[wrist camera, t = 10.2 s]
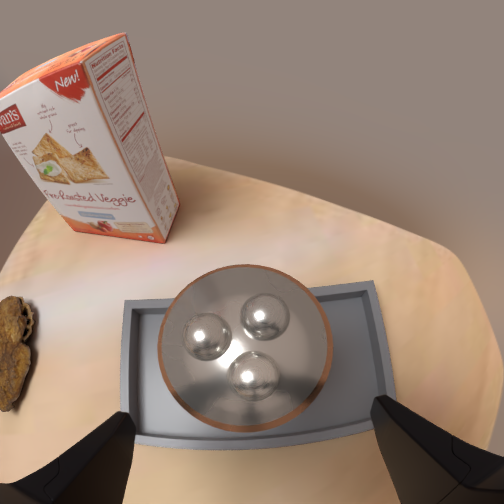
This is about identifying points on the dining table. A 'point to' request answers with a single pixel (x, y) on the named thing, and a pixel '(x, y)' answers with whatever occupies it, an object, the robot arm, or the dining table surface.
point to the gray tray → (294, 431)
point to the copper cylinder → (245, 348)
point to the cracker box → (92, 142)
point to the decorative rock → (13, 348)
